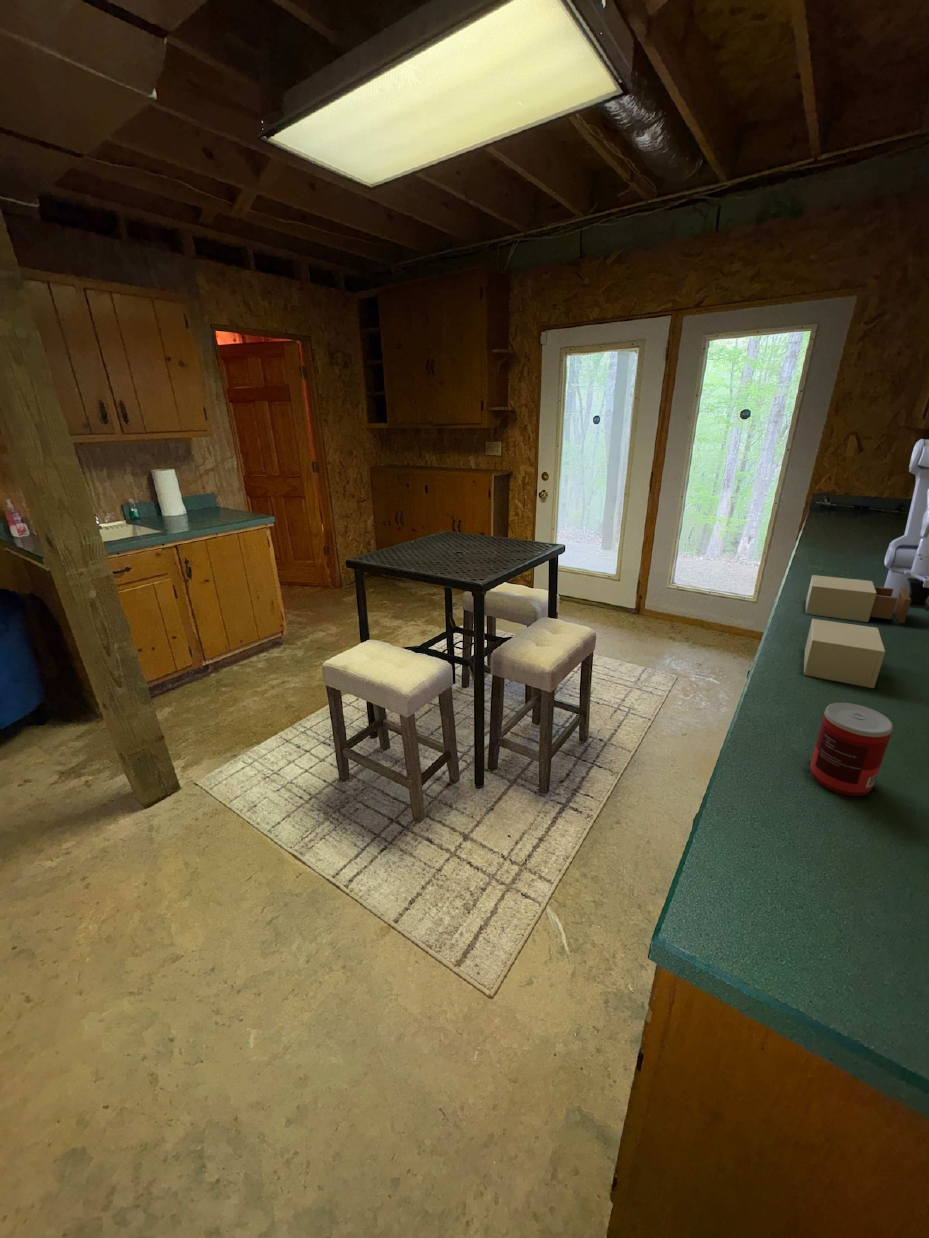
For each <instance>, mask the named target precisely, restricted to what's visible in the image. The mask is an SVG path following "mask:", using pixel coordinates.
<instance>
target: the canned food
mask: <svg viewBox="0 0 929 1238" xmlns="http://www.w3.org/2000/svg"><path fill="white" fill-rule="evenodd" d="M892 733H893V723H892V721H891V720H890V719H889V718H888V717H887V716H885V715H884V714H883V713H881V712H879V711H877V710H875V709H872V708H870V707H867V706H864V705H860V704H855V703H851V702H850V703H849V702H835V703H831V704H828V705H827V706H826V707H825V710H824V713H823V717H822V720H821V723H820V727H819V731H818V735H817V739H816V743H815V747H814V750H813V753H812V757H811V761H810V765H809V767H810V773H811V775H812V777H813V779H814V780H815V781H816V782H817V783H818V784H820V785H821V786H823V787H824V788H826V789H828V790H830V791H832V792H834V793H838V794H839V795H843V796H849V797H860V796H861V797H862V796H865V795H867V794H868V793H869V792H870V791H871V790H872V789H873V788H874V786H875V782H876V780H877V777H878V773H879V771H880V768H881V765H882V762H883V759H884V756H885V753H886V750H887V747H888V745H889V742H890V739H891V735H892Z"/></svg>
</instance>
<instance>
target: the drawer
mask: <svg viewBox="0 0 929 1238" xmlns="http://www.w3.org/2000/svg"><path fill="white" fill-rule="evenodd" d="M874 588H875V590H876V597H875V600H874V604H873V607H872V611H871V614H870V618H878V619H885V620H892V619H893V615H894V616H895V619H896V620H897V623H899V624H900V623H901V624H905V622H906V618H907V616H908V612H909V608H912V607H914V609H923V610H924V611H926V612H929V600H928V599H927V600H926V601H925V603H924V604H923V606H921V605H912V604H910V603H911V598H910V596H909V595H908V593H907V591H906V589H905V588H899V591H898V594H897V597H891V596H892V593H893V588H884V586H883V587H882V586H874Z"/></svg>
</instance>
